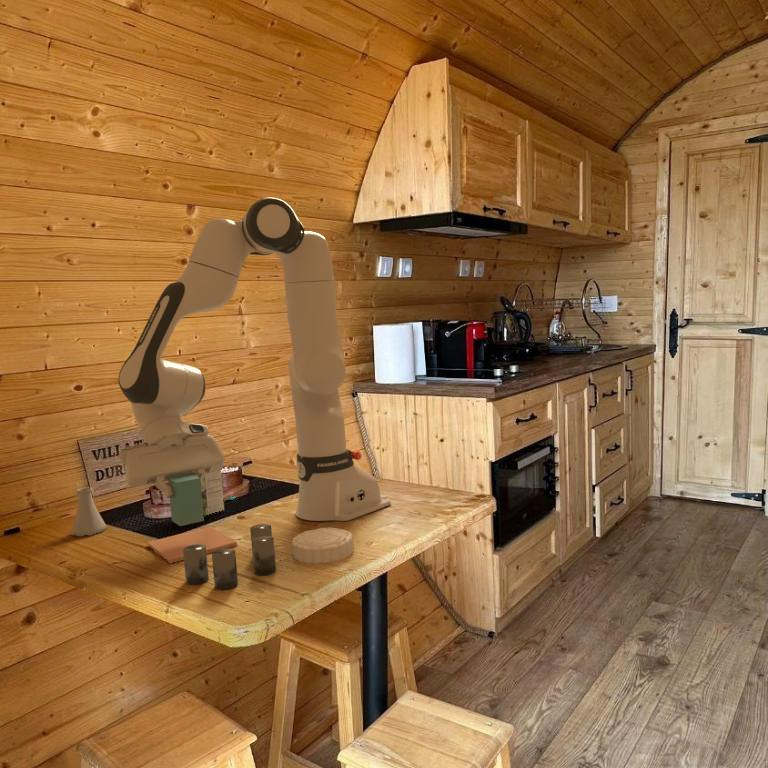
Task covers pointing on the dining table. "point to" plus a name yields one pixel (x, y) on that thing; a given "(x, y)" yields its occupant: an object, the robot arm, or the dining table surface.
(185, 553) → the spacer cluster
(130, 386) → the robot arm
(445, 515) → the dining table surface
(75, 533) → the flask
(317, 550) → the mooncake
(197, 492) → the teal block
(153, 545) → the tile
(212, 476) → the syrup box
